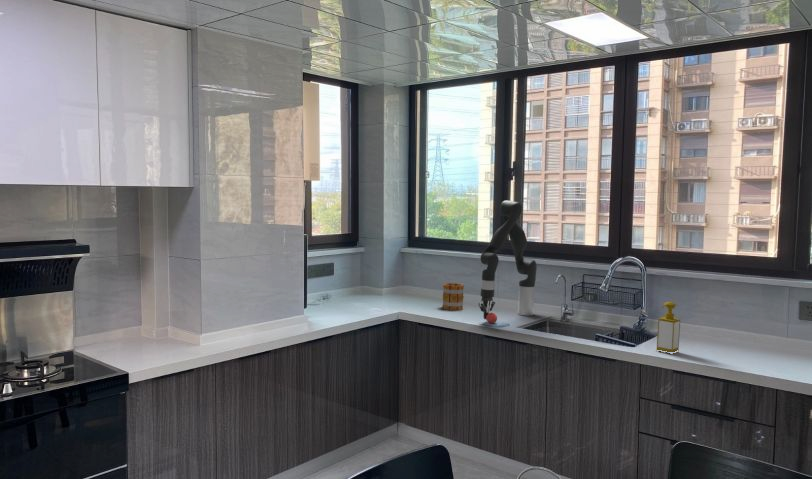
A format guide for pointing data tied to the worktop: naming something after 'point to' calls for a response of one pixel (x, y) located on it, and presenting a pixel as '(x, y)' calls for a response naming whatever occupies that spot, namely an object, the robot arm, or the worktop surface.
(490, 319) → the ball
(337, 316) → the worktop surface
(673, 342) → the soap bottle
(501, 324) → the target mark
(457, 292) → the brown wooden cylinder
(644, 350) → the worktop surface
